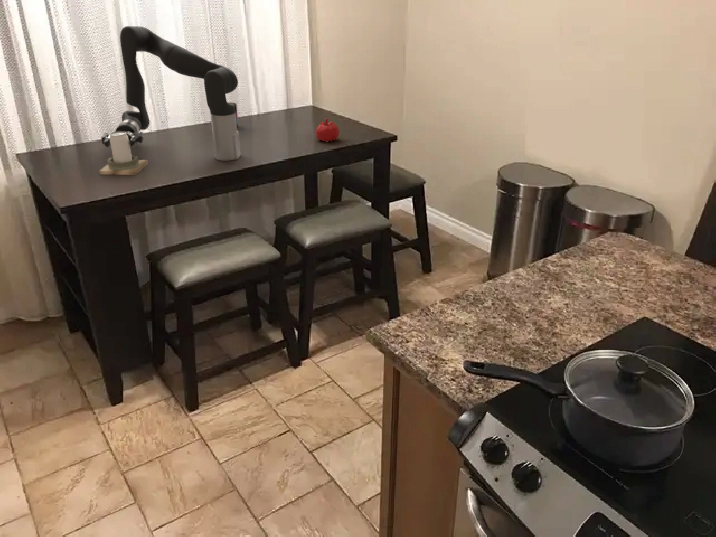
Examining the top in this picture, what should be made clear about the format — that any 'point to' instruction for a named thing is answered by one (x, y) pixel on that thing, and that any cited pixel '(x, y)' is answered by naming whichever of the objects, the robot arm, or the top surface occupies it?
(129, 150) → the can
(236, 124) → the supplement container
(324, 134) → the pomegranate
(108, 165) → the can holder
